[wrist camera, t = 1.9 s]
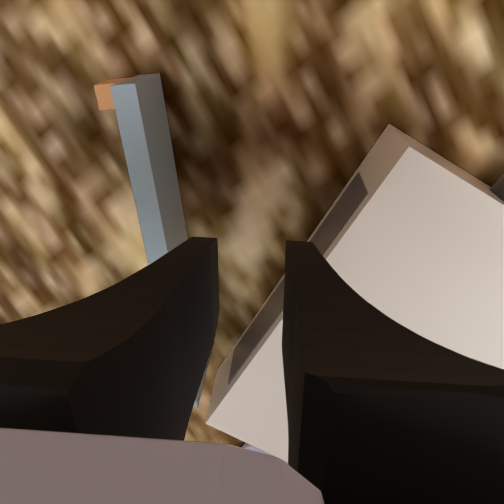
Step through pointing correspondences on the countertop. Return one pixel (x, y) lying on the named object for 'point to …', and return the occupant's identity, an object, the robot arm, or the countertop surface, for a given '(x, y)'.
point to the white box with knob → (384, 276)
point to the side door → (148, 162)
